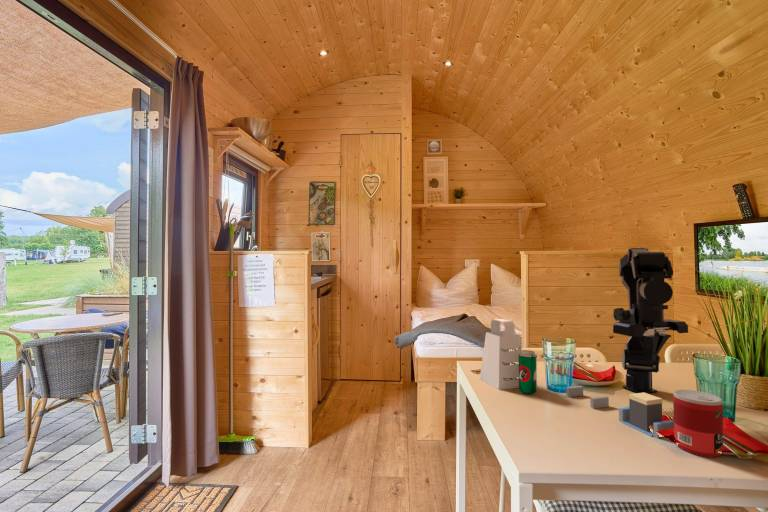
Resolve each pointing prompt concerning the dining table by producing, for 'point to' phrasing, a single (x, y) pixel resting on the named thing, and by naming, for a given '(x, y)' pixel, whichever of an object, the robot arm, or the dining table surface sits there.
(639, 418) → the box with lid
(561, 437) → the dining table surface
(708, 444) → the canned food
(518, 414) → the dining table surface
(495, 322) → the grater
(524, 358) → the soda can
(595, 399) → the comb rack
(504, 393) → the dining table surface
